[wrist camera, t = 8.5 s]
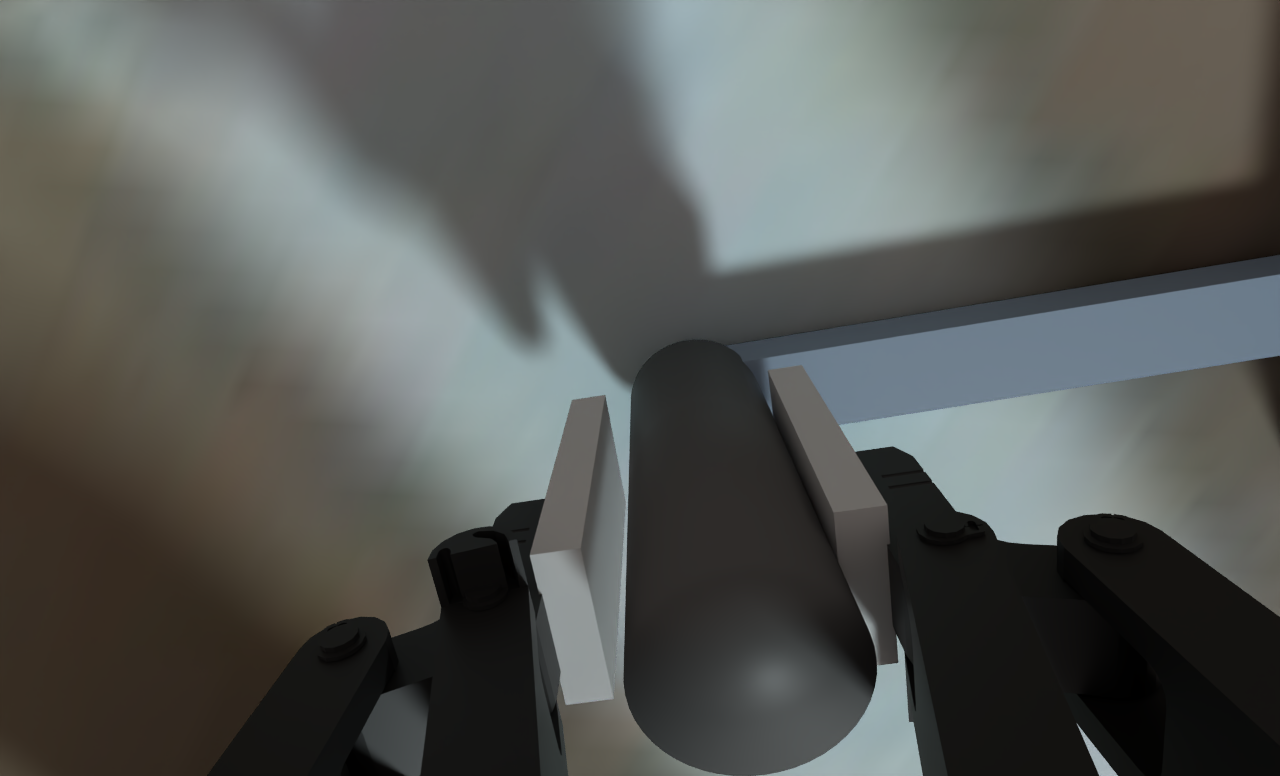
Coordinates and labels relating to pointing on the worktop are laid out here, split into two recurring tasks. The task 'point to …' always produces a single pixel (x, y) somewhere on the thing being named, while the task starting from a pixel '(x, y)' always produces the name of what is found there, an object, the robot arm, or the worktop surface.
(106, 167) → the worktop surface
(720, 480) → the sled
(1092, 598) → the robot arm
